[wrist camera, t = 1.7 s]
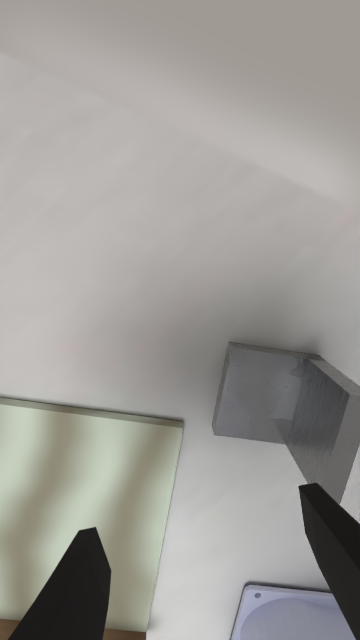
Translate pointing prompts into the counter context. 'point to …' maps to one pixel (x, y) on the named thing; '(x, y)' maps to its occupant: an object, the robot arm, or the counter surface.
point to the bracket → (292, 410)
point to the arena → (83, 503)
